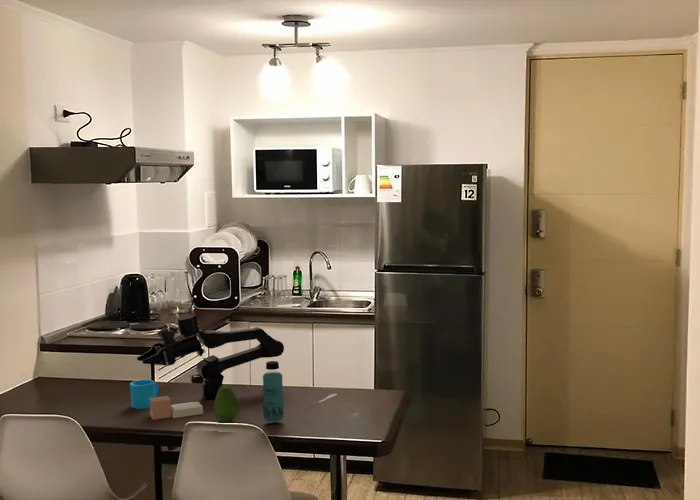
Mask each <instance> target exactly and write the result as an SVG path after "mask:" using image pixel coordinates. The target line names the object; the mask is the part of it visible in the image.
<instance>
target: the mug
mask: <svg viewBox="0 0 700 500" xmlns="http://www.w3.org/2000/svg"><path fill="white" fill-rule="evenodd" d="M129 386H130V387H129V388H130V400H131V401H130V402H131V406H130V407H131V408H132V409H134V408H136V410H140V409H141V410H144V409H150V399H149V398H155V397H158V395H159V390H160V389H159V385H158V384H157V383H156V382H155V380H152V379H140V380H139V379H138V380H134V381H131V382H130V383H129Z"/></svg>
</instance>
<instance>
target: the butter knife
mask: <svg viewBox="0 0 700 500" xmlns="http://www.w3.org/2000/svg"><path fill="white" fill-rule="evenodd" d="M336 396H338V394H337V393H331V394H329V395H327V396H326V397H324V398H323V399H321V400H320V401H318V403H323V402H325V401H327V400H329V399H332V398H334V397H336Z"/></svg>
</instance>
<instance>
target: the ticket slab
mask: <svg viewBox="0 0 700 500" xmlns="http://www.w3.org/2000/svg"><path fill="white" fill-rule="evenodd" d="M203 414H204V406H203V405H202V404H201V402H199V401H192V402H191V401H190V402H184V403H182V402H181V403H177V404H176V403H175V404H171V418H173V419H177V418H183V417H189V416H197V415H203Z"/></svg>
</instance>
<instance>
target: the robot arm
mask: <svg viewBox="0 0 700 500" xmlns="http://www.w3.org/2000/svg"><path fill="white" fill-rule="evenodd" d="M176 322H177V325H178V331H179V334H180V335H181V336H183V337H184V338H181V339H176V338H175V336H176V333H175V331H174V330H169V329H168V328H167V327H163V328H162V329H160V330H159V331H157V332H156V334H157V335H158V336H159V337H160V338H161V340H162V342H163V343H161V342H159V341H157V342H154V343H153V342H152V344H151V347H150V349H149V350H147V351H146V352H144V353H142V354H140V355H139V356H137V357H136V360H137V361H138V362H142V364H143V365H154V366H155V365H157V366H172V365H175V363H176V361H177V360H176V359H178V358H184V357H185V356H187V355H190V354H194V353H196V354H197V355H198V356H199V357H202V356H203V354H204V352H205V351H206V350H205V349H204V348H203V346H204V347H206V348H207V349H215V348H219V347H222V346H223V345H226V344H228V343H231V344H232V343H239V342H244V341H252V340H253V341H254V340H257V341H258V343H259V344H257V345H256V346H255V347H252V348H249V349H245V350H242V351H239V352H236V353H233V354H231V355H226V356H224V357H220V358H219V357H217V356H215V355H214V354H212V355H210V356H209V357H208V356H207V357H202V360H200V361H199V362H198V363H197V365H196V372H197V373H198V374H199V375H200V376H201V377H202V379H203V380H202V383H203V384H202V385H201V395H202V398H204V399H205V400H206V401H212V400H215V399H216V396H217V392H218V390H219V388H220V387H221V386H223V381H224V378H225V375H223V374H222V373H223V372H224V371H227V370H228V369H230V368H231V369H232V368H234V367H238V366H240V365H243V364H247V363H249V362H253V361H256V360H258V359H262V358H263V359H264V358H265V359H267V358H268V359H269V358H275V357H276V358H278V357H280V356H282V354H283V353H284V350H285V345H284V343H283V342H281V341H280V340H277V339H275V338H273V337H272V336H271V335H269V334H268V333H267V332H266V331H265V330H264V329H263V328H261V327H257V326H256V327H251V328H242V329H236V330H235V329H234V330H229V331H228V330H227V331H222V330H213V329H211V330H210V329H209V330H208V329H206V330H203V329H200V328H199V327H200V326H199V324H198V317H197V315H196V314H193V315H192V314H191V315H183V316H179V317H178V318H176ZM198 338H199V339H198Z"/></svg>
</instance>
